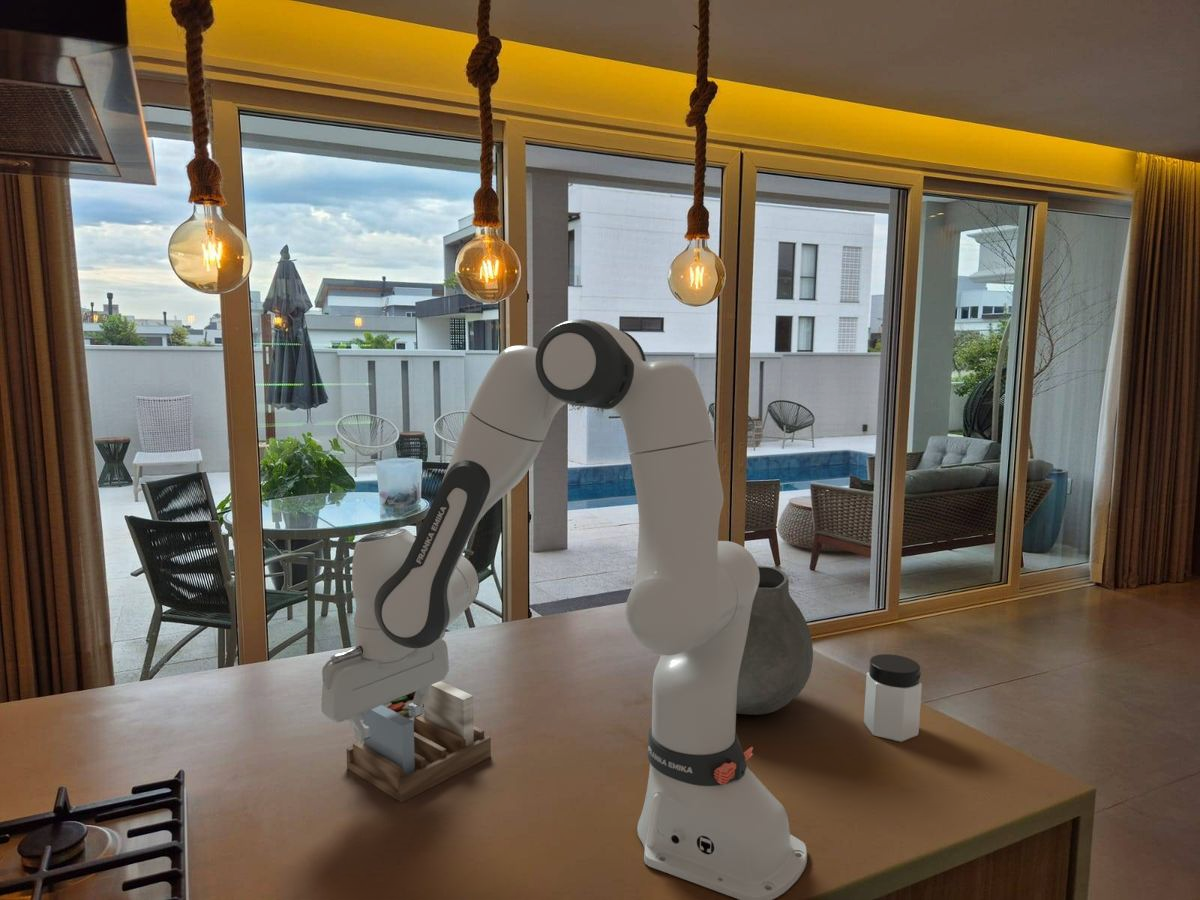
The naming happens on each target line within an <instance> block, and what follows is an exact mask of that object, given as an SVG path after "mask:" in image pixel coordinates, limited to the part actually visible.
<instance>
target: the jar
mask: <svg viewBox="0 0 1200 900" xmlns="http://www.w3.org/2000/svg"><path fill="white" fill-rule="evenodd" d="M868 668H869V671H867V672H866V677H865V678H866V679H865V694H864V696H865V697H864V710H863V711H864V712H863V724H864V725H865V726H866V728H867V729H868V730H869V731H870V733H871V734H872V735H873V736H875V737H878V738H883V739H887V740H890V741H891V740H892V741H895V742H900V743H902V742H905V741H907V740H909V739H912V738H915V737H917V736H918V735H919V732H920V731H919V730H920V718H921V717H920V716H921V704H922V703H921V701H922V691H923V690H922V689H923V684H922V682H921V681H920V678H921V666H920V664H919V663H918V662H917V661H915V660H914V659H911V658H909V657H906V656H902V655H897V654H888V653H887V654H885V653H883V654H877V655H874V656H872V657H871V658H870V660H869V667H868Z"/></svg>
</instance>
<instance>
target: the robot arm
mask: <svg viewBox="0 0 1200 900" xmlns="http://www.w3.org/2000/svg"><path fill="white" fill-rule="evenodd" d="M566 404H568V405H571V406H575V407H585V408H595V409H602V410H611V409H612V410H613V411H615V412H616V413H617V414H618V416H619V417H620V420H621V421H622V424H623V428H624V431H625V435H626V443H627V448H628V453H629V458H630V465H631V471H632V477H633V483H634V488H635V489H634V490H635V496H636V501H637V511H638V542H637V543H638V544H637V556H636V558H637V559H636V569H635V570H636V571H635V574H634V575H635V576H634V581H633V585H632V587H631V590H630V592H629V595H628V597H627V599H626V604H625V618H626V621H627V625H628V628H629V630H630V632H631V634H632V635H633V637H634V638H635V640H636V641H637V642H638V643H639V644H640V645H641V646H642V647H643V648H645V649H646V650H648V651H650V652H651V653H653V654H657V655H660V657H659V660H658V663H657V664H656V666H655V668H654V672H653V676H652V701H651V702H652V703H651V704H652V705H651V706H652V707H651V708H652V711H651V726H650V728H649V730H648V738H647V739H648V740H647V759H648V762H649V773H648V780H647V781H648V782H647V787H646V794H645V798H644V803H643V808H642V811H641V813H640V816H639V819H638V822H637V827H636V828H637V830H636V831H637V835H638V837H639V840H640V842H641V844H642V845H643V848H644V853H643V862H644V863H645V865H647V866H648V867H650V868H652V869H655V870H658V871H660V872H663V873H667V874H669V875H671V876H674V877H677V878H680V879H682V880H685V881H688V882H691V883H694V884H696V885H699V886H701V887H704V888H706V889H710V890H712V891H715V892H718V893H720V894H723V895H726V896H727V897H732V898H735V899H737V900H775V899H776V898H779V897H780V896H781V895H783V894H785V893H786V892H787V891H788V890H789V889H790V888H791V887H792V886H793V885H794V884H795V883H796V882H797V881H798V879H800V877H801V875H802V874H803V872H804V871H805V869H806V866H807V862H808V851H807V846H806V843H805V842H803V840H800V839H799V838H797V836H794V835H792V834H791V832H790V825H789V819H788V814H787V812H786V811H787V810H786V809H785V806H783V804H782V803H781V802H780V801H779V800H778V799H777V798H776V797H775V796H774V794H772V792H771V791H770V790H769V789H768V788H767V787H766V786H765V785H764V784H763V783H762V781H760V779H759V778H758V777H757V776H756V775H755V774H754V773H753V772H752V770H750V769H749V767H748V766H747V761H748V760H749V759H750V758H752V756H753V755H754V754H753V753H752V752H753V749H754V747H753V746H751V747H749V748H748V749H746V750H745V751H744V752H743V749H742V748H743V747H742V746H741V742H740V739H739V736H738V734H737V732H736V723H737V713H736V705H737V686H738V677H739V671H740V666H741V661H742V656H743V652H744V647H745V642H746V637H747V632H748V627H749V621H750V614H751V609H752V604H753V601H754V597H755V595H756V592H757V589H758V586H759V580H760V575H759V569H758V566H759V565H758V564H757V562H756V559H755V557H754V556H753V555H752V553H750V551H749V550H747V548H745V547H744V546H743V545H741V544H738V543H737V542H733V541H729V540H719V528H720V527H719V526H720V519H721V518H720V516H721V512H722V510H723V509H722V508H723V505H724V498H725V497H724V491H723V485H722V479H721V473H720V468H719V466H720V465H719V462H718V455H717V451H716V444H715V439H714V432H713V428H712V424H711V420H710V416H709V412H708V408H707V404H706V401H705V399H704V395H703V392H702V390H701V387H700V385H699V381H698V379H697V376H696V375H695V373H694V371H693V370H692V369H691V368H690V367H689V366H687V365H685V364H684V363H681V362H678V361H674V360H667V359H664V360H655V361H647V358H646V356H645V353H644V350H643V347H642V346H641V344H640V343H639V342H638V341H637V340H636V338H634V337H633V336H632V335H631V334H630V333H628V332H626V331H624V330H622V329H618V328H617V327H616V326H614V325H612V324H609V323H607V322H602V321H598V320H596V321H595V320H588V319H583V318H577V319H570V320H566V321H563V322H560V323H558V324H557V325H555V326H554V327H551V329H550V330H549V331H548V332H546V334H545V335H544V336H543V337H542V339H541V340H540V342H539V345H538V347H534V346H529V345H511V346H509V347H506V348H505V349H503V350H502V351H501V352H500V353H499V354H498V355H497V357H496V359H494V362H493V363H492V365H491V366H490V368H489V369H488V371H487V372H486V374H485V376H484V378H483V380H482V381H481V384H480V386H479V388H478V390H477V392H476V394H475V396H474V398H473V401H472V403H471V406H470V407H469V410H468V413H467V415H466V417H465V420H464V422H463V425H462V427H461V428H462V429H461V431H460V434H459V436H458V439H457V442H456V445H455V446H454V447H455V448H454V451H453V453H452V456H451V459H450V461H449V463H448V466H447V469H446V470H445V473H444V476H443V478H442V481H441V483H440V486H439V489H438V490H437V492H436V494H435V496H434V498H433V500H432V503H431V504H430V506H429V509H428V512H427V513H426V515H425V518H424V520H423V521H422V524H421V526H420V528H419V531H418V533H417V534H416V536H415V535H413V534H412V533H411V532H410V531H409V530H408V529H406V528H402V527H401V528H400V527H391V528H386V529H380V530H378V531H373V532H371V533H369V534H367V535H365V536H363V537H361V538H360V539H358V541H357V542H356V543H355V545H354V548H353V552H352V553H353V555H352V564H351V565H352V566H351V568H352V570H351V574H352V575H351V583H352V584H351V585H352V596H353V599H354V600H355V613H354V617H353V618H354V619H353V626H354V627H353V629H354V646H355V647H353V648H351V649H348V650H346V651H344V652H341V653H336V654H334V655H332V656H331V657H330V659H329V660H327V661H326V663H325V664H324V666H323V667H322V670H321V676H322V689H321V713H322V715H324V716H325V717H327V718H328V719H330V720H331V721H334V722H336V723H342V722H344V721H346V720H347V722H348V723H349V724H350V725H351V726H352V727H353V729H354V732H353V733H354V738H355V739H356V740H357V742H359V743H361V742H363V741H364V740H366V739H368V738H370V734H369V733H370V727H368V726H366V725H365V724H363V723H362V722H361V720H362V721H363V713H364V712H366V711H369V710H371V709H373V708H376V707H378V706H381V705H383V704H386V703H388V702H391V701H393V700H395V699H398V698H400V697H403V696H405V695H408V694H410V693H413V692H415V691H416V693H415V696H414V699H413V703H410V704H408V709H409V711H408V712H409V714H408V715H409V716H410V717H411V718H413V719H414V718H416V717H418V716H420V717H421V716H423V715H424V702H425V700H426V697H427V695H428V693H429V686H430V685H432V684H435V683H437V682H439V681H442V682H443V681H444V680H445V679H446V677H447V676H448V673H449V670H450V668H449V667H450V666H449V665H450V662H449V651H448V645H447V642H446V641H445V639H444V638H445V635H446V629H447V628H448V626H450V625H451V624H452V623H453V622H454V621H455V620H457V619H458V618H459V617H460V616H461V615H462V614H463V613H464V612H465V611H466V610H467V609H468V608H469V607H470V606H471V605H472V604H473V602H474V601H475V600H476V598H477V597H478V594H479V590H480V578H479V574H478V572H477V569H476V567H475V566H474V564H473V563H472V562H471V561H470V559H469V558H467V556H465V555H463V553H464V551H465V549H466V547H467V544H468V543H469V540H470V539H471V536H472V534H473V532H474V530H475V528H476V527H477V526H478V523H479V522H480V521H481V519H482V518H484V516H485V515H486V513H487V512H488V511H489V510H490V509H491V508H492V507H494V505H495V504H497V502H498V501H500V500H501V499H502V498H503V497H504V496H506V495H507V494H508V493H509V492H510V491H512V489H514V488H515V487H516V486H518V485H519V484H520V482H521V481H522V480H523V478H524V477H525V476H526V475H527V473H528V471H529V470H530V469H531V466H533V464H534V462H535V460H536V458H537V457H538V455H539V453H540V451H541V448H542V446H543V443H544V442H545V439H546V436H547V434H548V431H549V430H550V426H551V424H552V423H553V422H552V421H554V418H555V416H556V414H557V413H558V412H559V410H560V409H561V408H562V407H563V406H564V405H566Z"/></svg>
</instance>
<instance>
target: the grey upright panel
mask: <svg viewBox="0 0 1200 900" xmlns="http://www.w3.org/2000/svg"><path fill="white" fill-rule="evenodd" d="M412 720H413V719H409V718H408V717H405V715H403V716H402V715H400V714H398V713H396V712H395V711H393V710H391V709H389V708H387V707H385V706H383V705H381V706H378V707H376V708H373V709H371V710H369V711H366V712H364V713H363V719H362V721H363V723H362V724H365V725H366V726H368V727H370V733H369V734H370V738H368V739H366V740H363V741H364V746H366V747H367V748H369V749H371V750H373V751H374V752H376V753H378V754H379V755H381V756H383V757H384V758H386V759H388V760H390V761H391V762H393V763H395V764H396V765H398V766H400V767H401V768H403V769H404V774H405V776H407V775H409V774H411V773H413V772H415V758H414V721H412Z"/></svg>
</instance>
